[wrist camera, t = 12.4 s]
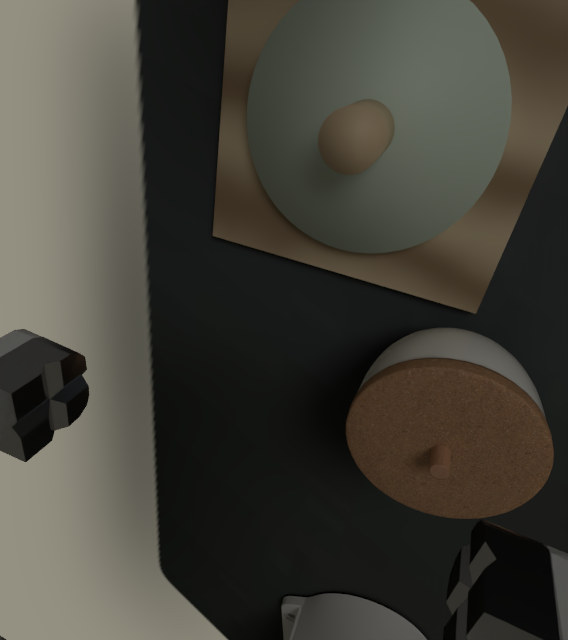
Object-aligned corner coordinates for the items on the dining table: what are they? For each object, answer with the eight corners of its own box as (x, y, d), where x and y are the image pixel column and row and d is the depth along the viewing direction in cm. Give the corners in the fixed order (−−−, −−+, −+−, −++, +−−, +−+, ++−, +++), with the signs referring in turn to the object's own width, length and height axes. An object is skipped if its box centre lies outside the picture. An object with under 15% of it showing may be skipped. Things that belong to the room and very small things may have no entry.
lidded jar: (346, 385, 35) (309, 477, 27) (416, 271, 29) (393, 349, 21) (476, 455, 34) (475, 571, 26) (577, 352, 28) (615, 464, 20)
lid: (455, 275, 28) (451, 312, 24) (242, 217, 31) (207, 241, 27) (563, -10, 20) (583, -24, 16) (266, -48, 23) (223, -68, 19)
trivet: (475, 309, 29) (475, 313, 28) (216, 233, 33) (212, 235, 32) (637, -60, 19) (641, -62, 18) (240, -105, 23) (235, -108, 22)
